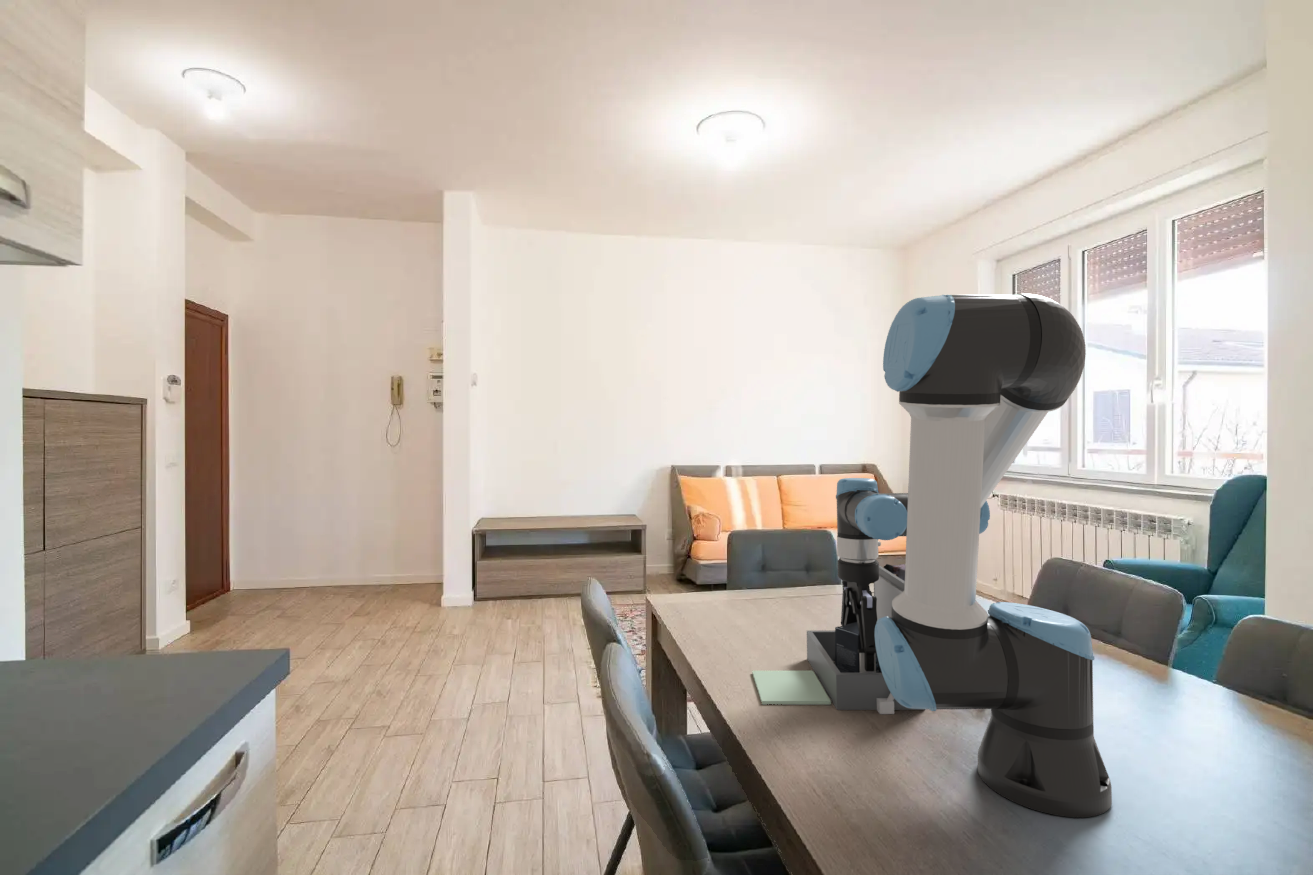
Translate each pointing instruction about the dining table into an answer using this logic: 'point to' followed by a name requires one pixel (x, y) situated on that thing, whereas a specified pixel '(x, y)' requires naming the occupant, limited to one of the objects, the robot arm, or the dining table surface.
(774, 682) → the pad
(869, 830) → the dining table surface
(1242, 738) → the dining table surface
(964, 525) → the robot arm
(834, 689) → the case
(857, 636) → the box
